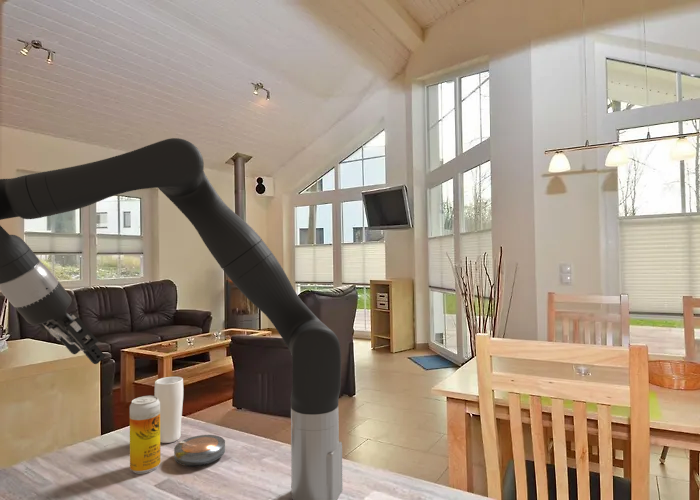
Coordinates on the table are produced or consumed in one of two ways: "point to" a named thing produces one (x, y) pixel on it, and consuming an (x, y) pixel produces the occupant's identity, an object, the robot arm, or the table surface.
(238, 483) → the table surface
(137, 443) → the beer can
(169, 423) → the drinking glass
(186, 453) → the disc
